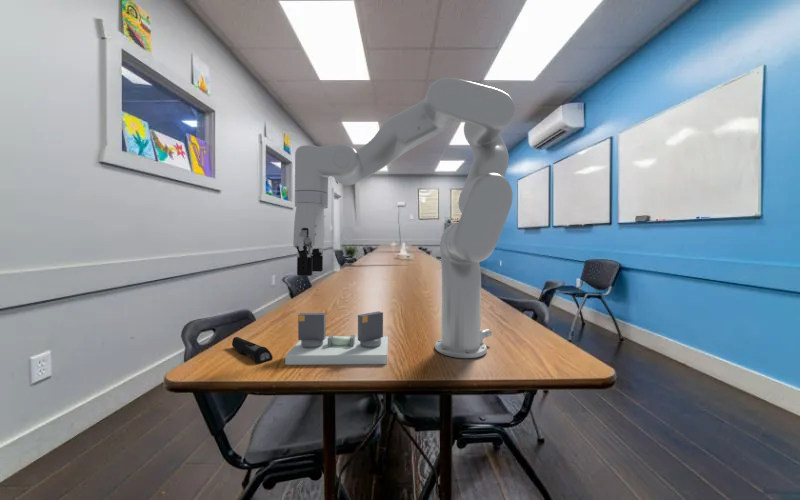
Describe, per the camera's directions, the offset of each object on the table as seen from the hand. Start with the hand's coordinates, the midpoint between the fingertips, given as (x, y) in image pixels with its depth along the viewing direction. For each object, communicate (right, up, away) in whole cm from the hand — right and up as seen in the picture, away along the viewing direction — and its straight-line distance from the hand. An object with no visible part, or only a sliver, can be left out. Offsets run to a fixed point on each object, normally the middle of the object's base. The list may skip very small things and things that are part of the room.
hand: (310, 273), depth 70 cm
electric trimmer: (-14, -20, 0) cm, 24 cm away
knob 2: (+14, -17, +1) cm, 22 cm away
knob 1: (0, -17, 0) cm, 17 cm away
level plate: (+7, -19, +1) cm, 21 cm away
